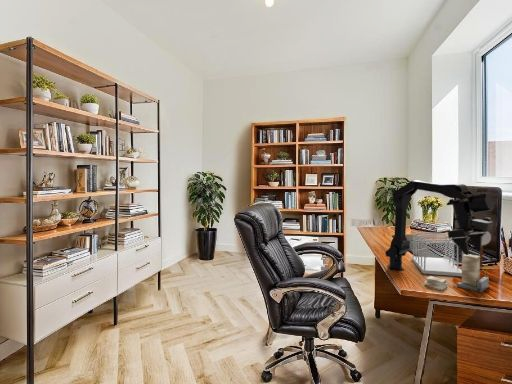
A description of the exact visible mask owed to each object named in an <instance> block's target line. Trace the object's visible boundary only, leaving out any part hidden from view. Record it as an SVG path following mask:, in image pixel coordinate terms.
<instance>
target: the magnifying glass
mask: <svg viewBox="0 0 512 384" xmlns="http://www.w3.org/2000/svg"><path fill="white" fill-rule="evenodd" d="M482 233H486V234H485V235H484V236H483V237H482V243H481V251H479V255H478V256H480V269H482V268H483V252H484V246H488V245H489V244H490V243H491V242H492V240H493V236H492V233H491V232H490V230H488V232H482Z"/></svg>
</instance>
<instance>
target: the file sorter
mask: <svg viewBox="0 0 512 384" xmlns="http://www.w3.org/2000/svg"><path fill="white" fill-rule="evenodd" d="M418 234H419V235H418ZM416 235H417V236H416ZM419 237H420V238H419ZM412 239H413V240H412V245H413V246H412V250H413V251H412V252H413V253H412V254H413V255H412V256H411V260H412V262H413V263H414V265H416V266H417V268H418V269H419V270H420V272H421V273H422V274H424V275H441V276H452V277H462V268H460V267H459V246H458V245H457V244H456V243H455V242H454V241H453V240H451V238H449V237H448V235H446V234H445V233H443V232H427V231H424V232H423V231H417V232H415V233H414V234H413V237H412ZM422 239H423V240H422ZM421 240H422V241H421ZM420 241H421V242H420ZM427 241H428V242H427ZM425 242H426V243H425ZM424 243H425V244H424ZM423 244H424V249H423ZM429 244H438V245H439V244H440V245H444V244H445V246H444V247H445V249H444V250H445V252H444V256H445V257H444V258H443V257H429V256H427V255H426V253H427V252H426V250H427V248H426V247H427V246H428V245H429ZM451 245H452V261H451ZM455 246H456V264H455ZM447 247H448V248H447ZM447 250H448V258H447ZM423 253H424V255H423ZM462 255H464V252H463V251H462V250H461V256H462ZM426 256H427V257H426Z"/></svg>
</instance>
